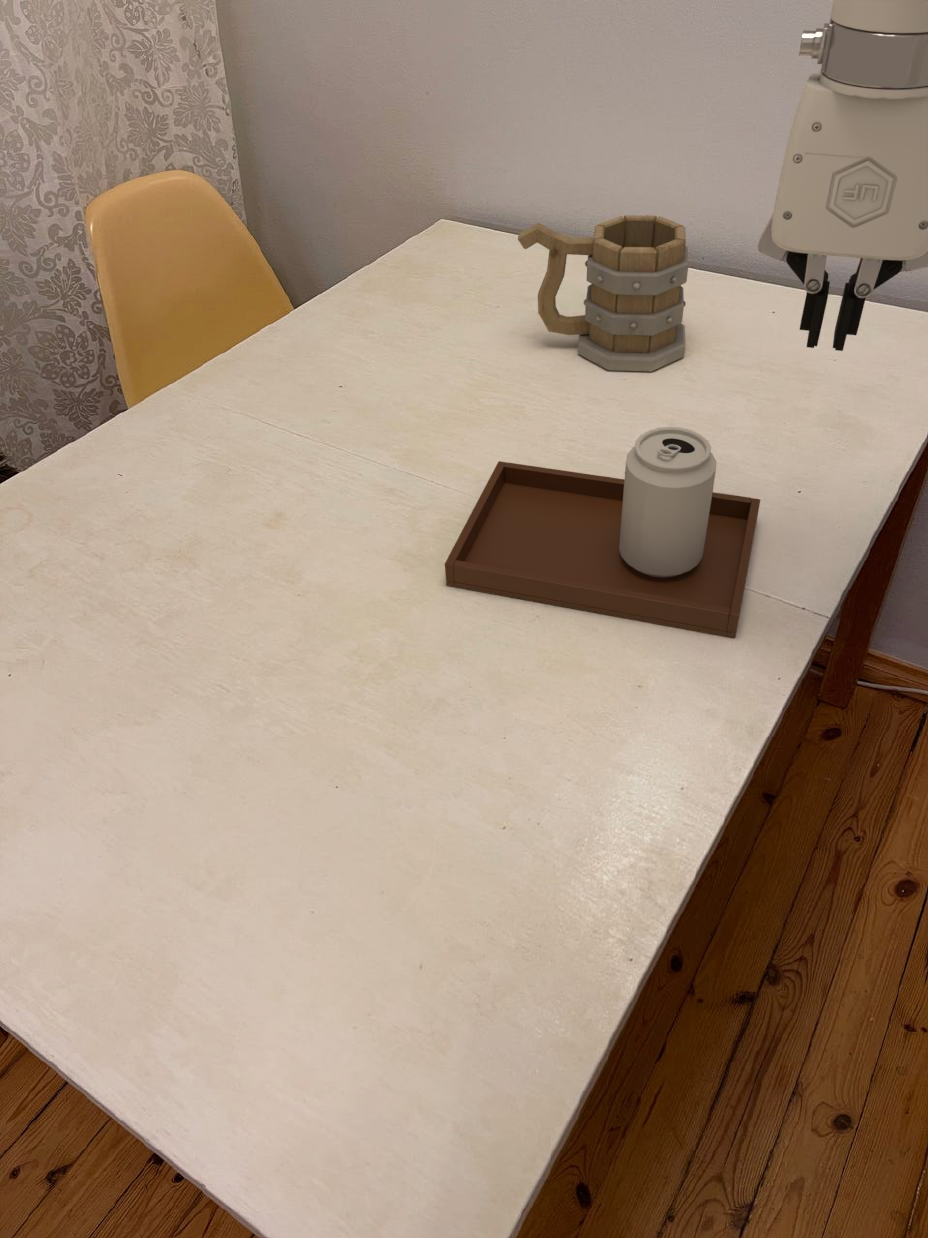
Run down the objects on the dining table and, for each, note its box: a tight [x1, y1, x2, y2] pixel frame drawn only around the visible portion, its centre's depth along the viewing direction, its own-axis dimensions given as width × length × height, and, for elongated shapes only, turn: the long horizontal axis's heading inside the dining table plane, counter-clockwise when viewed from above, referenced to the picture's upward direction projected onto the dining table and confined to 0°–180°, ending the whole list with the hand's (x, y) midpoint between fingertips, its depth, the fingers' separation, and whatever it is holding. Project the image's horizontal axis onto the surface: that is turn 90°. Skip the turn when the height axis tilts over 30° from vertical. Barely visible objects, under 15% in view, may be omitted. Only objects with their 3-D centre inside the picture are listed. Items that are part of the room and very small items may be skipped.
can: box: [619, 426, 717, 578], centre depth 84 cm, size 8×8×12 cm
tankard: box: [517, 214, 691, 373], centre depth 113 cm, size 20×13×15 cm, turn 82°
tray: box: [444, 460, 761, 639], centre depth 89 cm, size 26×17×3 cm, turn 72°
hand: (825, 339), depth 70 cm, fingers closed
